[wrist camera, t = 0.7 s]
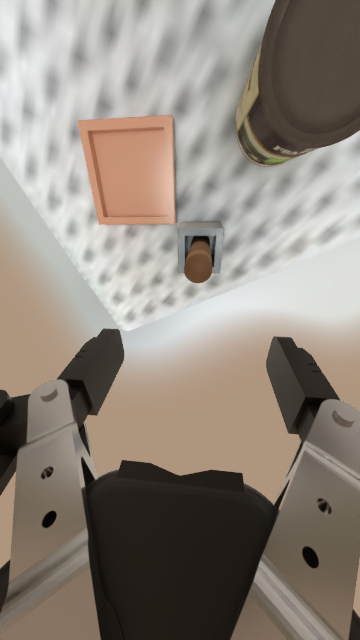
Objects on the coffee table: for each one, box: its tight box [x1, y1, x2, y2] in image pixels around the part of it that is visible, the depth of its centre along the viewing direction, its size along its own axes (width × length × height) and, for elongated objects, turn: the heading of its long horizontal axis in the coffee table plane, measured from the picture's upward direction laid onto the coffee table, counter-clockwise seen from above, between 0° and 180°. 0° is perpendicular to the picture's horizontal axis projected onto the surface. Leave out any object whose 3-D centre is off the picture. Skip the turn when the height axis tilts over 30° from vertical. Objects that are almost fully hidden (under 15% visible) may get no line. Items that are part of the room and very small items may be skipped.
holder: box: [178, 222, 224, 273], centre depth 31 cm, size 6×6×7 cm
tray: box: [78, 115, 177, 224], centre depth 29 cm, size 12×12×2 cm
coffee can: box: [235, 0, 360, 166], centre depth 20 cm, size 10×10×14 cm
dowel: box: [184, 236, 212, 283], centre depth 28 cm, size 3×3×14 cm
